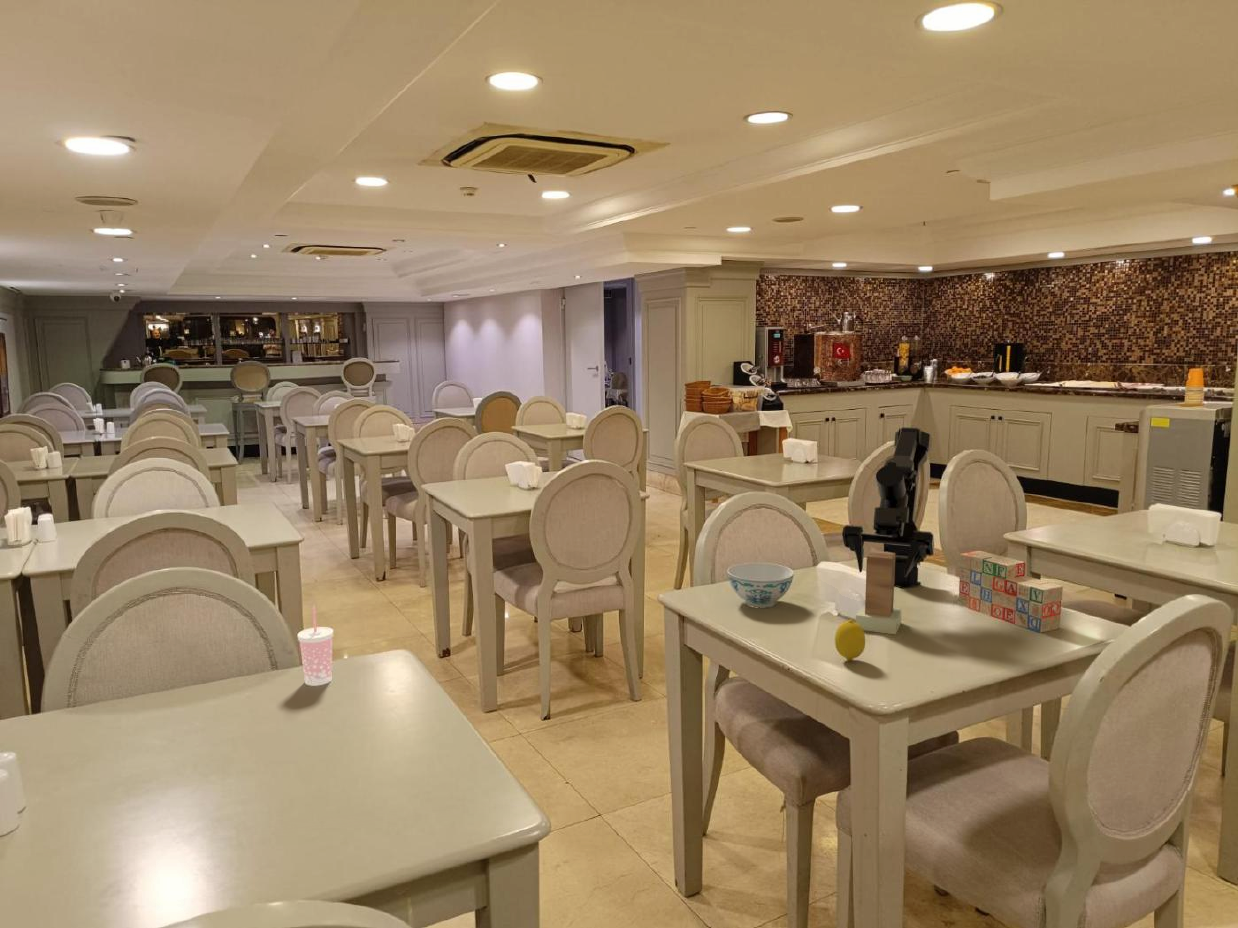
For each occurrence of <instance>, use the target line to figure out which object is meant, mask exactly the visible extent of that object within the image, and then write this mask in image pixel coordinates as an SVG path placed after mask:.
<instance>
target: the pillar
mask: <svg viewBox="0 0 1238 928" xmlns="http://www.w3.org/2000/svg"><path fill="white" fill-rule="evenodd" d="M865 569H866V570H865V571H866V573H865V597H864V601H865V602H864V605H865V614H868V615H876V616H883V617H890V616H891V614H892V612H893V608H894V603H895V602H894V600H895V599H894V596H895V586H894V576H895V553H891V552H884V551H878V550H877V551H876V550H870V551H869V553H868V554H867V555H866V568H865Z"/></svg>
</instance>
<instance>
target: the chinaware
mask: <svg viewBox="0 0 1238 928" xmlns="http://www.w3.org/2000/svg"><path fill="white" fill-rule="evenodd" d="M726 571H727V577H728V580H729V584H730V586H731V588H732V589H733V591H734V592H735V594H737V595H738V596H739V598H741V600H744V604H745V605H746V604H747V606H748V605H749V606H748V607H750V606H753V607H752V608H754V607H760V608H759V609H766V608H765V607H769V608H772V607H774V606H775V605H776V602H778V601H779V600H780V599H782V598H783V596H785V595H786V593H787V592H788V591H789V590H790V587H791V585H792V583H793V579H794V574H795V572H794V570H793V569H791V568H789V567H787V566H784V565H780V564H776V563H771V562H770V563H768V562H744V563H739V564H735V565H732V566H730V567H728V569H727V570H726ZM774 604H775V605H774ZM773 605H774V606H773ZM771 606H772V607H771Z"/></svg>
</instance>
